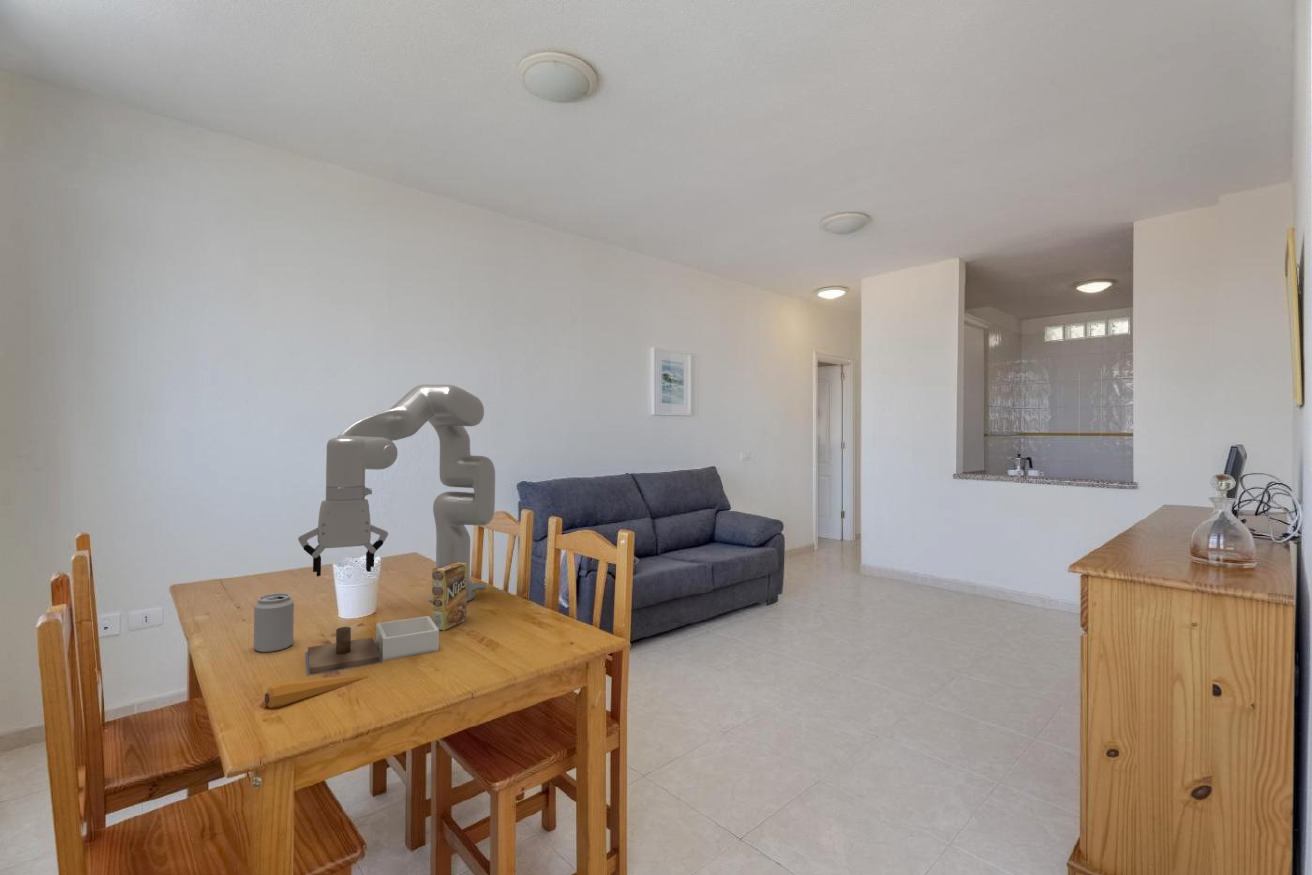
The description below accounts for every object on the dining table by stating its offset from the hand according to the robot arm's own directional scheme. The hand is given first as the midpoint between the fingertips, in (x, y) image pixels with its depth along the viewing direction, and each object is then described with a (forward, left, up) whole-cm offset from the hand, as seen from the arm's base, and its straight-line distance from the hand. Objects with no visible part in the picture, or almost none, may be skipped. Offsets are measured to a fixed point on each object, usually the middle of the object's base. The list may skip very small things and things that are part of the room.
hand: (343, 572), depth 129 cm
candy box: (-25, -12, -19) cm, 34 cm away
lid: (0, 0, -19) cm, 19 cm away
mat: (0, 0, -19) cm, 19 cm away
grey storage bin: (-13, 0, -19) cm, 23 cm away
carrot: (+4, +16, -19) cm, 26 cm away
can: (+13, -14, -19) cm, 27 cm away
